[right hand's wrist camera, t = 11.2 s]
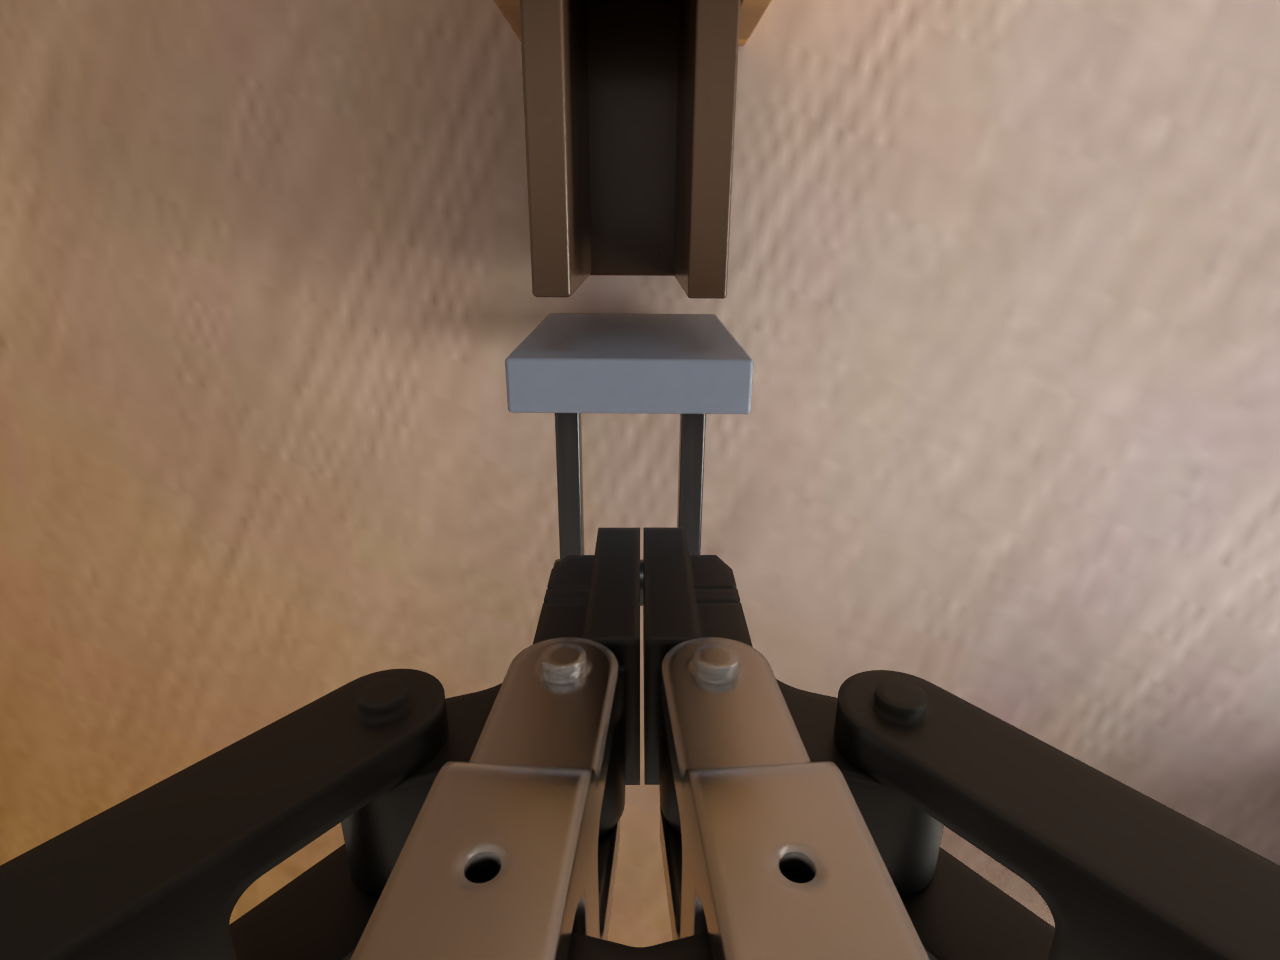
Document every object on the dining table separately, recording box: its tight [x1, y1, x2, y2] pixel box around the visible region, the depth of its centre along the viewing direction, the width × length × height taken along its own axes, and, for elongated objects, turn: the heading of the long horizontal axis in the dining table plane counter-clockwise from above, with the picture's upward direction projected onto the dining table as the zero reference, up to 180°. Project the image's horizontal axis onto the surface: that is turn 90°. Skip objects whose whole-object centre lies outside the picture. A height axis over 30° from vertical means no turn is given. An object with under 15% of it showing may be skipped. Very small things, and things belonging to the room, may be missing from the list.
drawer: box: [505, 0, 753, 606], centre depth 17 cm, size 24×5×8 cm, turn 0°
